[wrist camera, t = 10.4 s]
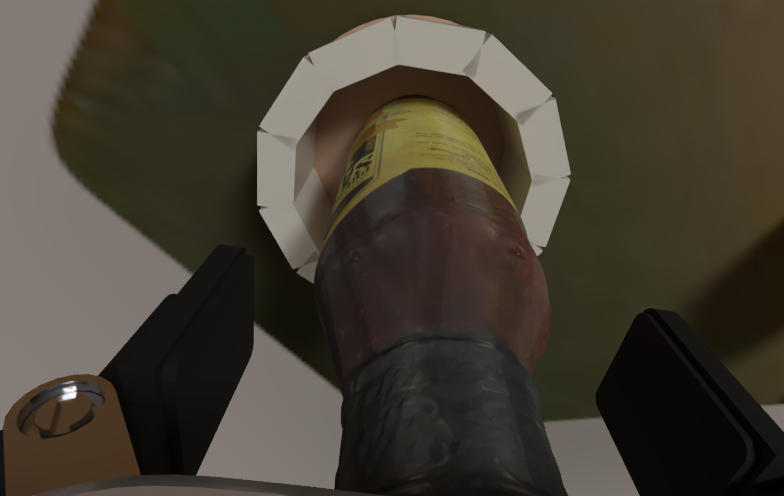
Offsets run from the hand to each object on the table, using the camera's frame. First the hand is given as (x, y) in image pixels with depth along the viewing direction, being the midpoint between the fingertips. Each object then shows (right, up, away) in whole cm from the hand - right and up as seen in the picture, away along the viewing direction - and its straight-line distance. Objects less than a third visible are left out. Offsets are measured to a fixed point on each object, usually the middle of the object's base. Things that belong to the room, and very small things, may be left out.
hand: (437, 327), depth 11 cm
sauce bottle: (0, +7, +12) cm, 14 cm away
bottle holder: (0, +7, +12) cm, 14 cm away
